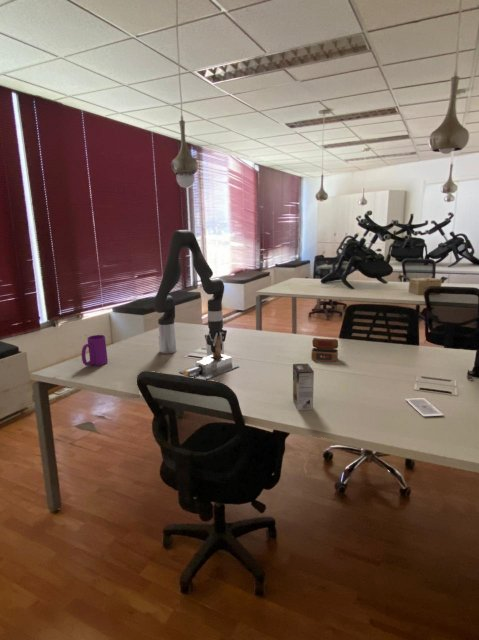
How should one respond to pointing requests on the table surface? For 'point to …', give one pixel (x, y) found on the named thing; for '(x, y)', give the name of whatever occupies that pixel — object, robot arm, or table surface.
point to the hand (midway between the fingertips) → (216, 351)
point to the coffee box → (303, 386)
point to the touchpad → (424, 407)
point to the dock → (212, 367)
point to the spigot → (217, 349)
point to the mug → (95, 351)
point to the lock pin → (192, 371)
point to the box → (325, 349)
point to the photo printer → (212, 352)
